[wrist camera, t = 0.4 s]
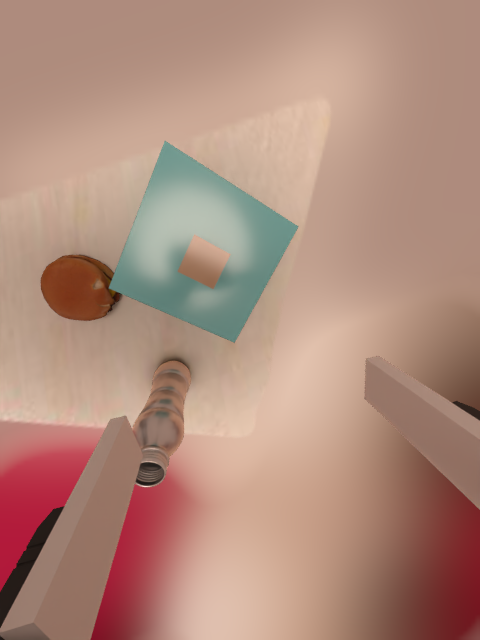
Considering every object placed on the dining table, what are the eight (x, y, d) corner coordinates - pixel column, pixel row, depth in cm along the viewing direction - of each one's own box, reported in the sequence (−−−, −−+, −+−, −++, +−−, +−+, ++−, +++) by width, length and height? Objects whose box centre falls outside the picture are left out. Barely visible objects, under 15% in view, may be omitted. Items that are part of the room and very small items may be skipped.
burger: (39, 280, 34) (15, 285, 30) (84, 242, 34) (66, 241, 29) (91, 327, 38) (76, 338, 33) (134, 293, 37) (124, 300, 33)
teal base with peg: (137, 275, 35) (59, 310, 17) (178, 174, 32) (138, 74, 13) (227, 317, 40) (245, 382, 21) (272, 231, 36) (342, 217, 17)
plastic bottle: (159, 389, 43) (123, 503, 24) (152, 358, 41) (106, 455, 22) (194, 384, 44) (184, 491, 25) (188, 353, 41) (174, 444, 23)
